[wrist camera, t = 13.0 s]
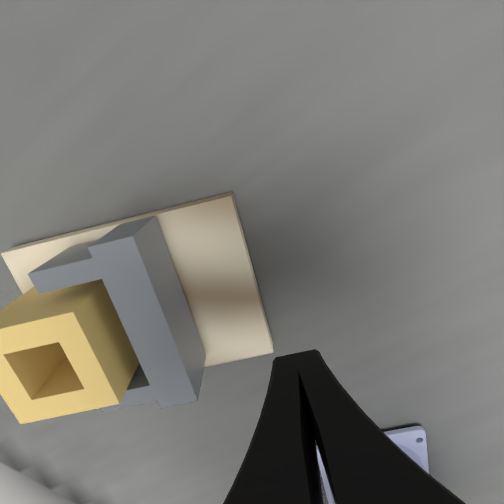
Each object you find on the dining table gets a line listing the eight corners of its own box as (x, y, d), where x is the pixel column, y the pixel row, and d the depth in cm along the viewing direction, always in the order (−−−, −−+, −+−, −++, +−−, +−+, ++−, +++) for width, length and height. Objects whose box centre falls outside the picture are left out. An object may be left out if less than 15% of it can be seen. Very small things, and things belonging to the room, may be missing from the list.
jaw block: (150, 338, 20) (119, 403, 15) (74, 355, 20) (20, 424, 15) (119, 265, 18) (73, 311, 13) (36, 284, 18) (-38, 337, 14)
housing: (206, 355, 20) (197, 400, 16) (128, 372, 20) (105, 419, 17) (155, 215, 17) (132, 236, 13) (65, 238, 17) (21, 263, 14)
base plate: (272, 340, 21) (276, 381, 18) (86, 380, 22) (56, 426, 19) (232, 191, 18) (227, 206, 14) (15, 246, 19) (-38, 272, 15)
